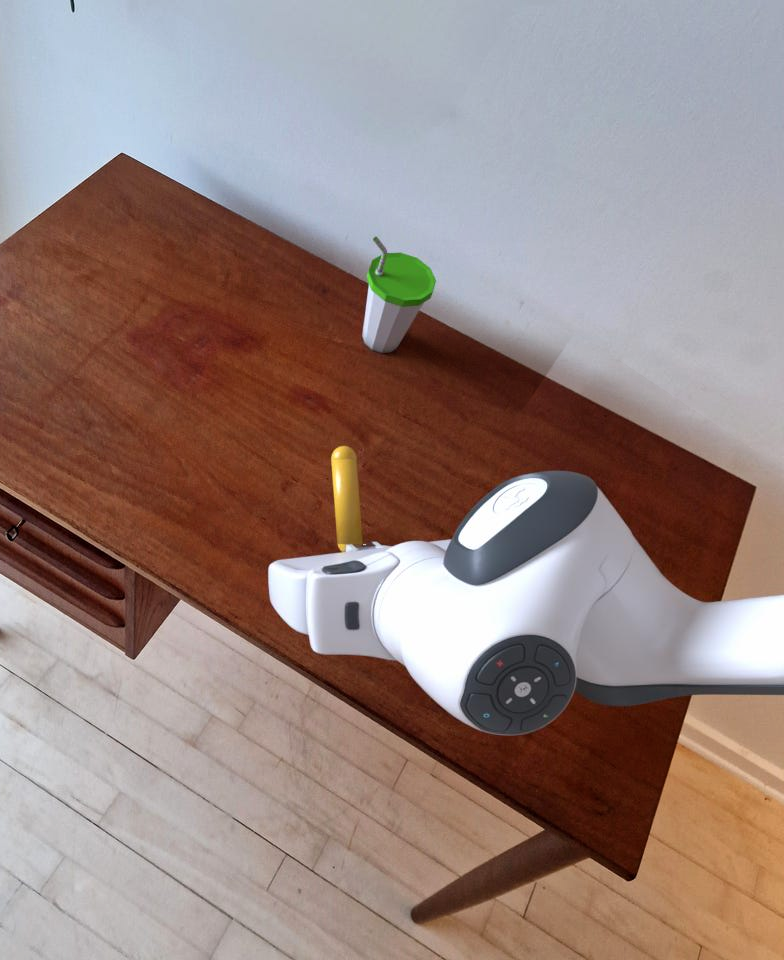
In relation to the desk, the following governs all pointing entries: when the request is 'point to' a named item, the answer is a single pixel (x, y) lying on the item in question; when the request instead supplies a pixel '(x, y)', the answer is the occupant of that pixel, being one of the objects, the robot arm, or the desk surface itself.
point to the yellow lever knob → (346, 497)
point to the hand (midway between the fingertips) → (360, 551)
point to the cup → (394, 297)
